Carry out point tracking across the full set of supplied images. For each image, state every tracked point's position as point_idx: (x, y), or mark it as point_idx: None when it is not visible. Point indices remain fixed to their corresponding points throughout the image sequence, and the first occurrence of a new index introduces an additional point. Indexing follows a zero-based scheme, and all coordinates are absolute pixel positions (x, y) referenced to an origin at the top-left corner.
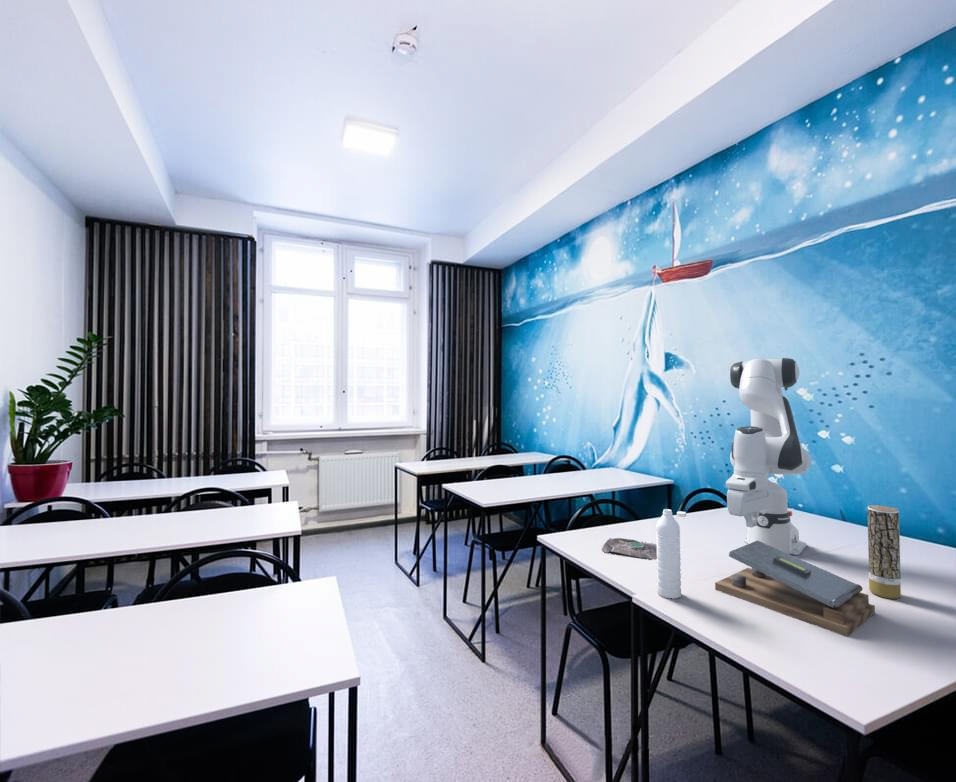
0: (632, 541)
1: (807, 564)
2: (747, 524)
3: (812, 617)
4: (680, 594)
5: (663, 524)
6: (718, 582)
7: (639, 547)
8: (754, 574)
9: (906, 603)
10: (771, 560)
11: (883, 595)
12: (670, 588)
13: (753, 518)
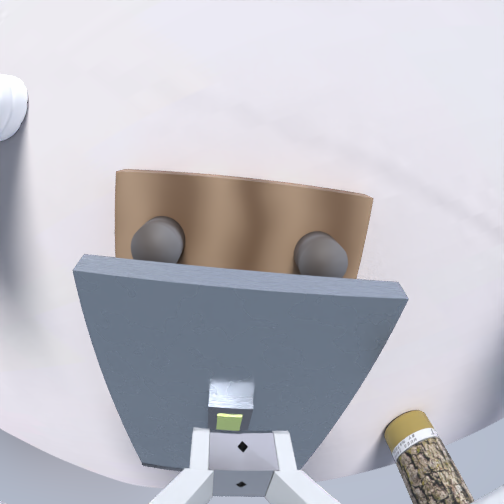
0: None
1: (314, 431)
2: (191, 446)
3: None
4: (3, 139)
5: None
6: (127, 178)
7: None
8: (296, 248)
9: (378, 446)
10: (210, 390)
11: (385, 433)
12: None
13: (277, 499)
